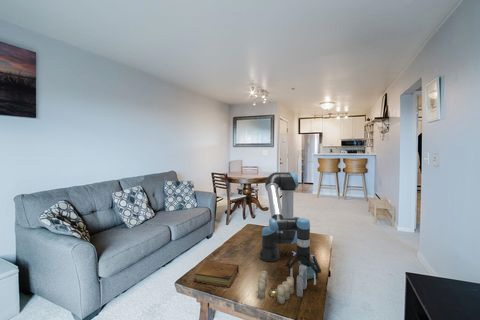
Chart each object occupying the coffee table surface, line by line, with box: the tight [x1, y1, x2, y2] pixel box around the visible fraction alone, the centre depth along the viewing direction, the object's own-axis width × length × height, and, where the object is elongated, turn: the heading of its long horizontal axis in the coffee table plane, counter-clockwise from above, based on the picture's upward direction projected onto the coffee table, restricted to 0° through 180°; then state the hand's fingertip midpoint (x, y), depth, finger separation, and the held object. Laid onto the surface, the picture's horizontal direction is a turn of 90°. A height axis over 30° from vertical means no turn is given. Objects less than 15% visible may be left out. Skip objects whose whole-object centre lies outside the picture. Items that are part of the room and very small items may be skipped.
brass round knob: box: [268, 287, 277, 298], centre depth 131 cm, size 5×5×3 cm
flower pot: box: [298, 260, 317, 280], centre depth 150 cm, size 9×9×9 cm
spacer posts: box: [257, 270, 295, 305], centre depth 131 cm, size 14×20×8 cm
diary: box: [194, 260, 240, 288], centre depth 150 cm, size 23×19×6 cm
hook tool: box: [296, 265, 308, 298], centre depth 135 cm, size 13×4×12 cm, turn 155°
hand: (303, 281), depth 138 cm, fingers open, 13 cm apart
